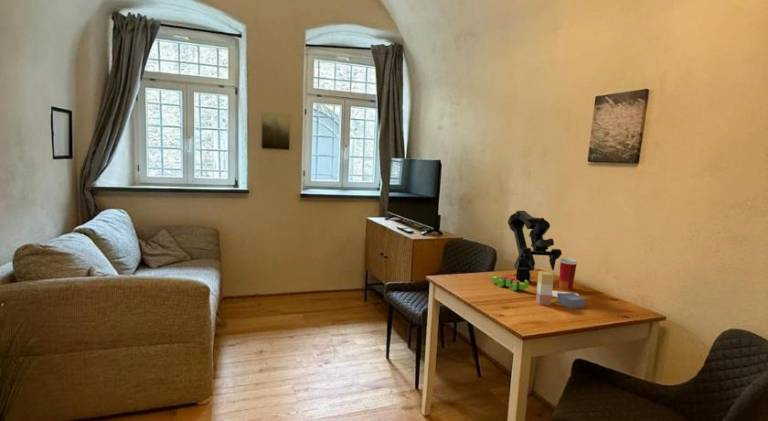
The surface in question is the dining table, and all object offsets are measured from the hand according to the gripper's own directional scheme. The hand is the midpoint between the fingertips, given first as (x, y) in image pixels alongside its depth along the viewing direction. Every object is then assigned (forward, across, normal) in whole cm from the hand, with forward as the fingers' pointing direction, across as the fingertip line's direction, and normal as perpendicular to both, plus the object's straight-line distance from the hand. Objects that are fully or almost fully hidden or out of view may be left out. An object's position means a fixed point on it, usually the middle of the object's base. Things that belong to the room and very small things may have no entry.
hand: (543, 269), depth 194 cm
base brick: (+16, +10, +3) cm, 19 cm away
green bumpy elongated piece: (+2, -11, +18) cm, 22 cm away
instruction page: (+8, +13, +11) cm, 19 cm away
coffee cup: (0, +18, +20) cm, 27 cm away
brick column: (+16, -2, +2) cm, 16 cm away
